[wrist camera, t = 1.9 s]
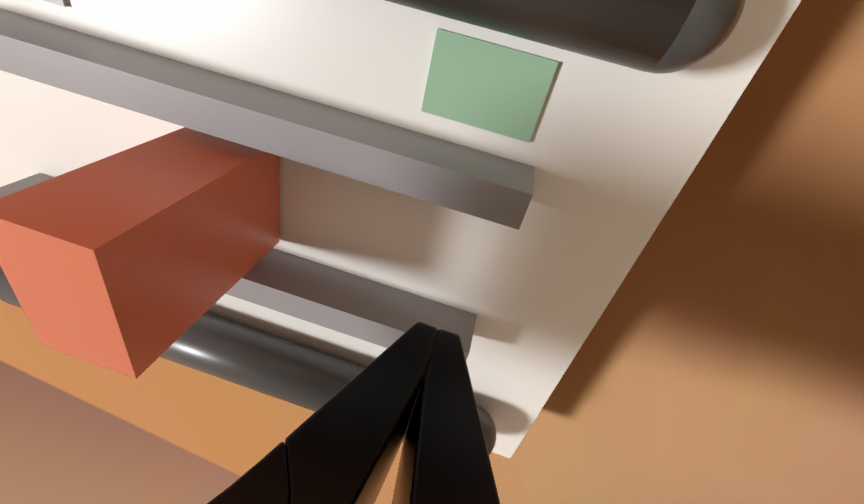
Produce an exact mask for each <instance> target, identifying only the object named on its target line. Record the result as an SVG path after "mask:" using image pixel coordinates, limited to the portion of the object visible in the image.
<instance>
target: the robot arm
mask: <svg viewBox="0 0 864 504" xmlns="http://www.w3.org/2000/svg"><path fill="white" fill-rule="evenodd" d="M436 335H437V336H436ZM435 338H436V339H435ZM434 341H435V342H434ZM433 344H434V345H433ZM429 357H430V358H429ZM428 360H429V361H428ZM423 376H424V377H423ZM422 379H423V380H422ZM417 395H418V396H417ZM416 398H417V399H416ZM415 401H416V402H415ZM414 404H415V405H414ZM411 414H412V415H411ZM410 417H411V418H410ZM409 420H410V421H409ZM408 423H409V424H408ZM407 426H408V428H407ZM406 429H407V431H406ZM405 432H406V435H405ZM404 435H405V438H404ZM403 438H404V443H403V448H402V452H401V458H400V463H399V468H398V474H397V479H396V484H395V489H394V495H393V500H392V504H500V501H499V497H498V492H497V488H496V484H495V480H494V476H493V472H492V467H491V463H490V459H489V455H488V451H487V446H486V442H485V438H484V434H483V430H482V426H481V421H480V417H479V413H478V409H477V405H476V401H475V396H474V392H473V388H472V384H471V380H470V375H469V371H468V367H467V363H466V359H465V355H464V350H463V346H462V342H461V338H460V336H459V334H457V333H455V332H452V331H449V330H446V329H442V328H441V329H439V330H438V328H437V327H436V326H433V325H430V324H427V323H424V322H421V321H419V322H417V323H415V324H414V325H413V326H412V327H411V328H410V329H408V330H407V331H406V332H405V333H404V334H403V335H402V336H401V337H399V338H398V339H397V340H396V341H395V342H394V343H393V344H392V345H390V346H389V347H388V348H387V349H386V350H385V351H384V352H383V353H381V354H380V355H379V356H378V357H377V358H376V359H375V360H374V361H372V362H371V363H370V364H369V365H368V366H367V367H366V368H365V369H363V370H362V371H361V372H360V373H359V374H358V375H357V376H356V377H354V378H353V379H352V380H351V381H350V382H349V383H348V384H347V385H345V386H344V387H343V388H342V389H341V390H340V391H339V392H338V393H336V394H335V395H334V396H333V397H332V398H331V399H330V400H328V401H327V402H326V403H325V404H324V405H323V406H322V407H321V408H319V409H318V410H317V411H316V412H315V413H314V414H313V415H312V416H310V417H309V418H308V419H307V420H306V421H305V422H304V423H303V424H301V425H300V426H299V427H298V428H297V429H296V430H295V431H294V432H292V433H291V434H290V435H289V436H288V437H287V438H286V439H285V443H284V442H281V443H280V444H279V445H277V446H276V447H275V448H274V449H273V450H272V451H271V452H270V453H268V454H267V455H266V456H265V457H264V458H263V459H262V460H261V461H259V462H258V463H257V464H256V465H255V466H253V467H252V468H251V469H250V470H249V471H247V472H246V473H245V474H244V475H243V476H241V477H240V478H239V479H238V480H237V481H236V482H234V483H233V484H232V485H231V486H230V487H228V488H227V489H226V490H224V491H223V492H222V493H220V494H219V495H218V496H216V497H215V498H214V499H213V500H212V501H210V502H209V503H207V504H374V503H375V501H376V498H377V496H378V494H379V492H380V489H381V487H382V485H383V483H384V481H385V478H386V476H387V474H388V472H389V470H390V467H391V465H392V463H393V461H394V459H395V456H396V454H397V452H398V450H399V447H400V445H401V443H402V440H403Z"/></svg>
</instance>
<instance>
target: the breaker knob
mask: <svg viewBox="0 0 864 504" xmlns="http://www.w3.org/2000/svg"><path fill="white" fill-rule="evenodd" d="M278 243H279V156H277V155H274V154H271V153H268V152H264V151H261V150H258V149H255V148H251V147H248V146H245V145H242V144H238V143H235V142H232V141H229V140H225V139H222V138H219V137H216V136H212V135H209V134H206V133H203V132H199V131H196V130H193V129H190V128H186V127H184V128H181V129H179V130H176V131H173V132H171V133H168V134H166V135H163V136H160V137H158V138H155V139H153V140H150V141H147V142H145V143H142V144H140V145H137V146H134V147H132V148H129V149H127V150H124V151H121V152H119V153H116V154H114V155H111V156H108V157H106V158H103V159H101V160H98V161H95V162H93V163H90V164H88V165H85V166H82V167H80V168H77V169H75V170H72V171H69V172H67V173H64V174H62V175H59V176H56V177H54V178H51V179H49V180H46V181H43V182H41V183H38V184H36V185H33V186H31V187H28V188H25V189H23V190H20V191H18V192H15V193H12V194H10V195H7V196H5V197H2V198H0V266H1V268H2V270H3V272H4V274H5V276H6V278H7V280H8V282H9V284H10V285H11V287H12V289H13V291H14V293H15V295H16V297H17V299H18V301H19V303H20V305H21V307H22V309H23V311H24V313H25V315H26V317H27V319H28V321H29V323H30V325H31V327H32V329H33V330H34V332H35V334H36V336H37V338H38V340H39V342H40V344H41V345H43V346H46V347H49V348H52V349H54V350H57V351H60V352H63V353H66V354H68V355H71V356H74V357H77V358H80V359H82V360H85V361H88V362H91V363H94V364H96V365H99V366H102V367H105V368H108V369H110V370H113V371H116V372H119V373H122V374H124V375H127V376H130V377H133V378H135V379H136V378H137V377H138V376H140V375H141V374H142V373H143V372H144V371H145V370H146V369H147V368H148V367H149V366H150V365H151V364H152V363H153V362H154V361H155V360H156V359H157V358H158V357H159V356H160V355H162V354H163V353H164V352H165V351H166V350H167V349H168V348H169V347H170V346H171V345H172V344H173V343H174V342H175V341H176V340H177V339H178V338H179V337H180V336H181V335H182V334H183V333H185V332H186V331H187V330H188V329H189V328H190V327H191V326H192V325H193V324H194V323H195V322H196V321H197V320H198V319H199V318H200V317H201V316H202V315H203V314H204V313H205V312H207V311H208V310H209V309H210V308H211V307H212V306H213V305H214V304H215V303H216V302H217V301H218V300H219V299H220V298H221V297H222V296H223V295H224V294H225V293H226V292H227V291H228V290H230V289H231V288H232V287H233V286H234V285H235V284H236V283H237V282H238V281H239V280H240V279H241V278H242V277H243V276H244V275H245V274H246V273H247V272H248V271H249V270H250V269H252V268H253V267H254V266H255V265H256V264H257V263H258V262H259V261H260V260H261V259H262V258H263V257H264V256H265V255H266V254H267V253H268V252H269V251H270V250H271V249H272V248H273V247H275V246H276V245H277V244H278Z"/></svg>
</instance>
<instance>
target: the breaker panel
mask: <svg viewBox="0 0 864 504" xmlns="http://www.w3.org/2000/svg"><path fill="white" fill-rule="evenodd" d="M800 2H801V0H0V198H2V197H5V196H7V195H10V194H12V193H15V192H18V191H20V190H23V189H25V188H28V187H31V186H33V185H36V184H38V183H41V182H43V181H46V180H49V179H51V178H54V177H56V176H59V175H62V174H64V173H67V172H69V171H72V170H75V169H77V168H80V167H82V166H85V165H88V164H90V163H93V162H95V161H98V160H101V159H103V158H106V157H108V156H111V155H114V154H116V153H119V152H121V151H124V150H127V149H129V148H132V147H134V146H137V145H140V144H142V143H145V142H147V141H150V140H153V139H155V138H158V137H160V136H163V135H166V134H168V133H171V132H173V131H176V130H179V129H181V128H184V127H186V128H190V129H193V130H196V131H199V132H203V133H206V134H209V135H212V136H216V137H219V138H222V139H225V140H229V141H232V142H235V143H238V144H242V145H245V146H248V147H251V148H255V149H258V150H261V151H264V152H268V153H271V154H274V155H277V156H279V243H278V244H277V245H276V246H275V247H273V248H272V249H271V250H270V251H269V252H268V253H267V254H266V255H265V256H264V257H263V258H262V259H261V260H260V261H259V262H258V263H257V264H256V265H255V266H254V267H253V268H252V269H250V270H249V271H248V272H247V273H246V274H245V275H244V276H243V277H242V278H241V279H240V280H239V281H238V282H237V283H236V284H235V285H234V286H233V287H232V288H231V289H230V290H228V291H227V292H226V293H225V294H224V295H223V296H222V297H221V298H220V299H219V300H218V301H217V302H216V303H215V304H214V305H213V306H212V307H211V308H210V309H209V310H208V311H207V312H205V313H204V314H203V315H202V316H201V317H200V318H199V319H198V320H197V321H196V322H195V323H194V324H193V325H192V326H191V327H190V328H189V329H188V330H187V331H186V332H185V333H183V334H182V335H181V336H180V337H179V338H178V339H177V340H176V341H175V342H174V343H173V344H172V345H171V346H170V347H169V348H168V349H167V350H166V351H165V352H164V353H163V354H162V355H160V356H159V357H162V358H165V359H167V360H170V361H173V362H176V363H179V364H182V365H184V366H187V367H190V368H193V369H196V370H199V371H201V372H204V373H207V374H210V375H213V376H216V377H219V378H221V379H224V380H227V381H230V382H233V383H236V384H238V385H241V386H244V387H247V388H250V389H253V390H256V391H258V392H261V393H264V394H267V395H270V396H273V397H275V398H278V399H281V400H284V401H287V402H290V403H292V404H295V405H298V406H301V407H304V408H307V409H310V410H312V411H315V412H316V411H317V410H318V409H319V408H321V407H322V406H323V405H324V404H325V403H326V402H327V401H328V400H330V399H331V398H332V397H333V396H334V395H335V394H336V393H338V392H339V391H340V390H341V389H342V388H343V387H344V386H345V385H347V384H348V383H349V382H350V381H351V380H352V379H353V378H354V377H356V376H357V375H358V374H359V373H360V372H361V371H362V370H363V369H365V368H366V367H367V366H368V365H369V364H370V363H371V362H372V361H374V360H375V359H376V358H377V357H378V356H379V355H380V354H381V353H383V352H384V351H385V350H386V349H387V348H388V347H389V346H390V345H392V344H393V343H394V342H395V341H396V340H397V339H398V338H399V337H401V336H402V335H403V334H404V333H405V332H406V331H407V330H408V329H410V328H411V327H412V326H413V325H414V324H415V323H417V322H419V321H421V322H424V323H427V324H430V325H433V326H436V327H437V328H438V330H439V329H441V328H442V329H446V330H449V331H452V332H455V333H457V334H459V336H460V338H461V342H462V346H463V350H464V355H465V359H466V363H467V367H468V371H469V375H470V380H471V384H472V388H473V392H474V396H475V401H476V405H477V409H478V413H479V417H480V421H481V426H482V430H483V434H484V438H485V442H486V446H487V451H488V455H489V454H490V453H491V452H493V453H496V454H499V455H502V456H505V457H508V458H511V456H512V455H513V453H514V452H515V450H516V448H517V447H518V445H519V444H520V442H521V441H522V439H523V437H524V436H525V434H526V433H527V431H528V430H529V428H530V426H531V425H532V423H533V422H534V420H535V419H536V417H537V415H538V414H539V412H540V411H541V409H542V408H543V406H544V404H545V403H546V401H547V400H548V398H549V397H550V395H551V393H552V392H553V390H554V389H555V387H556V386H557V384H558V382H559V381H560V379H561V378H562V376H563V375H564V373H565V371H566V370H567V368H568V367H569V365H570V364H571V362H572V360H573V359H574V357H575V356H576V354H577V353H578V351H579V349H580V348H581V346H582V345H583V343H584V342H585V340H586V338H587V337H588V335H589V334H590V332H591V331H592V329H593V327H594V326H595V324H596V323H597V321H598V320H599V318H600V316H601V315H602V313H603V312H604V310H605V309H606V307H607V305H608V304H609V302H610V301H611V299H612V298H613V296H614V294H615V293H616V291H617V290H618V288H619V287H620V285H621V283H622V282H623V280H624V279H625V277H626V276H627V274H628V272H629V271H630V269H631V268H632V266H633V265H634V263H635V261H636V260H637V258H638V257H639V255H640V254H641V252H642V250H643V249H644V247H645V246H646V244H647V243H648V241H649V239H650V238H651V236H652V235H653V233H654V232H655V230H656V228H657V227H658V225H659V224H660V222H661V221H662V219H663V217H664V216H665V214H666V213H667V211H668V209H669V208H670V206H671V205H672V203H673V202H674V200H675V198H676V197H677V195H678V194H679V192H680V191H681V189H682V187H683V186H684V184H685V183H686V181H687V180H688V178H689V176H690V175H691V173H692V172H693V170H694V169H695V167H696V165H697V164H698V162H699V161H700V159H701V158H702V156H703V154H704V153H705V151H706V150H707V148H708V147H709V145H710V143H711V142H712V140H713V139H714V137H715V136H716V134H717V132H718V131H719V129H720V128H721V126H722V125H723V123H724V121H725V120H726V118H727V117H728V115H729V114H730V112H731V110H732V109H733V107H734V106H735V104H736V103H737V101H738V99H739V98H740V96H741V95H742V93H743V92H744V90H745V88H746V87H747V85H748V84H749V82H750V81H751V79H752V77H753V76H754V74H755V73H756V71H757V70H758V68H759V66H760V65H761V63H762V62H763V60H764V59H765V57H766V55H767V54H768V52H769V51H770V49H771V48H772V46H773V44H774V43H775V41H776V40H777V38H778V37H779V35H780V33H781V32H782V30H783V29H784V27H785V26H786V24H787V22H788V21H789V19H790V18H791V16H792V15H793V13H794V11H795V10H796V8H797V7H798V5H799V4H800ZM0 299H1V300H2V301H4V302H6V303H8V304H11V305H14V306H17V307H20V308H22V307H21V305H20V303H19V301H18V299H17V297H16V295H15V293H14V291H13V289H12V287H11V285H10V284H9V282H8V280H7V278H6V276H5V274H4V272H3V270H2V268H1V266H0ZM436 336H437V335H436ZM435 339H436V338H435ZM434 342H435V341H434ZM433 345H434V344H433ZM429 358H430V357H429ZM428 361H429V360H428ZM423 377H424V376H423ZM422 380H423V379H422ZM417 396H418V395H417ZM416 399H417V398H416ZM415 402H416V401H415ZM414 405H415V404H414ZM411 415H412V414H411ZM410 418H411V417H410ZM409 421H410V420H409ZM408 424H409V423H408ZM407 428H408V426H407ZM406 431H407V429H406ZM405 435H406V432H405ZM405 435H404V438H405ZM404 438H403V440H402V442H403V443H404Z"/></svg>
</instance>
